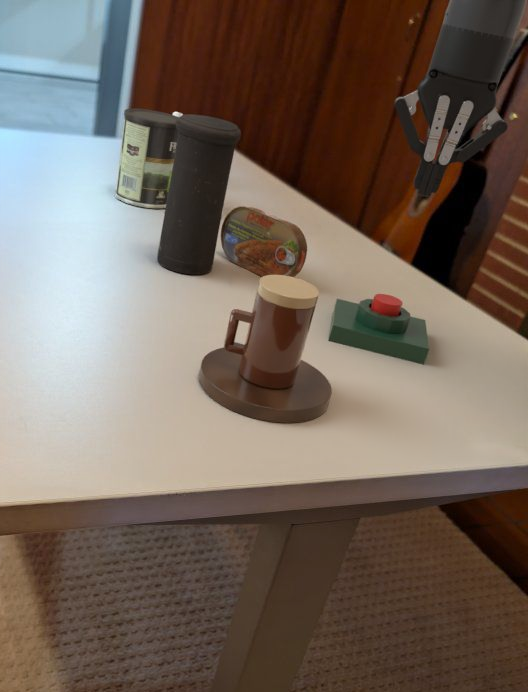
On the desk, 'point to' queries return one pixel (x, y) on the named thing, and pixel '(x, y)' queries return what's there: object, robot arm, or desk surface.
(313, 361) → the desk surface
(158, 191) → the coffee can
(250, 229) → the tin
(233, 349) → the mug
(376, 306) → the button
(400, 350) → the button block
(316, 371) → the turntable
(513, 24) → the robot arm
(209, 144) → the container
